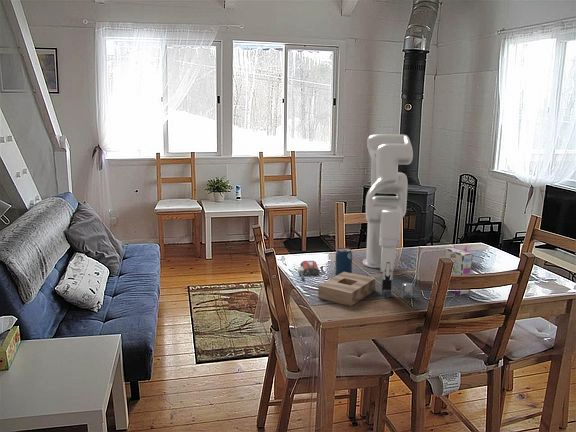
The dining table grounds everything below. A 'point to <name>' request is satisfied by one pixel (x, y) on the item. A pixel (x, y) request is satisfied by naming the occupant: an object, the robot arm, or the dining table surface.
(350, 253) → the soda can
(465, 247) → the lily
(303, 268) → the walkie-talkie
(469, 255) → the candy bar box
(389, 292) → the tall pin
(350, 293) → the hole block
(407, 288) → the short pin
